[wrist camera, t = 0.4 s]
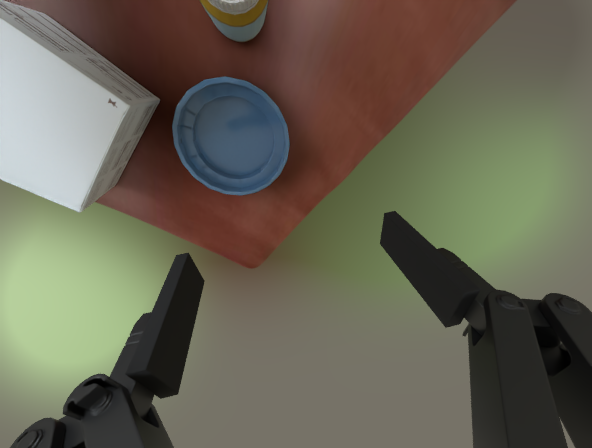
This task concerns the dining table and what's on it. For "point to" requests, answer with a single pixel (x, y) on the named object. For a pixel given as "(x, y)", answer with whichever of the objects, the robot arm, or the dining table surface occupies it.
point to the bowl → (230, 136)
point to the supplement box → (63, 111)
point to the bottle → (237, 17)
